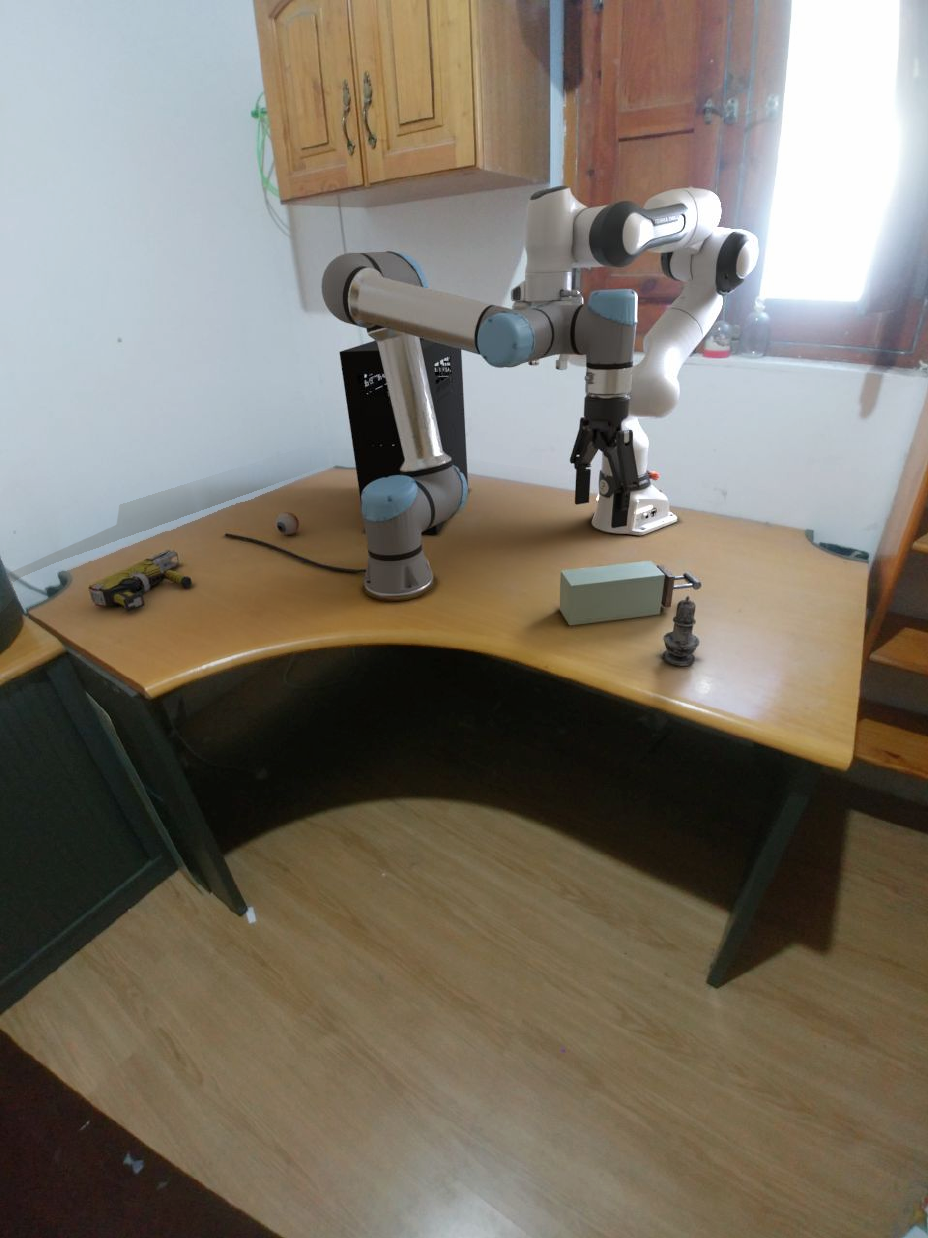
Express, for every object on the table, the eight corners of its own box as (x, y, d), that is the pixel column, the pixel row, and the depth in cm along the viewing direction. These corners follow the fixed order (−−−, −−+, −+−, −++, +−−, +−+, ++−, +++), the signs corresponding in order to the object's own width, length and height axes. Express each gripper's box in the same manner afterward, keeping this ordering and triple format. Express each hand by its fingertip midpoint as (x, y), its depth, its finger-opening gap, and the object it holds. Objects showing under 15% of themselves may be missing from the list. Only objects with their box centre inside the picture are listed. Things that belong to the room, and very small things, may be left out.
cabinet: (645, 598, 124) (650, 560, 119) (659, 614, 118) (665, 574, 114) (559, 609, 122) (560, 570, 117) (569, 625, 116) (571, 585, 112)
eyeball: (273, 537, 164) (268, 516, 161) (287, 528, 169) (282, 508, 166) (291, 539, 161) (286, 518, 158) (305, 530, 166) (301, 510, 163)
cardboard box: (436, 534, 159) (422, 349, 137) (364, 531, 164) (339, 351, 141) (468, 489, 191) (460, 332, 168) (407, 487, 195) (391, 335, 173)
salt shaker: (698, 668, 101) (709, 605, 95) (662, 665, 103) (670, 603, 97) (694, 649, 106) (704, 588, 100) (659, 647, 108) (667, 587, 102)
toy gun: (215, 558, 145) (165, 547, 149) (137, 600, 125) (81, 586, 129) (218, 575, 148) (168, 564, 152) (142, 619, 128) (87, 605, 131)
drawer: (686, 591, 124) (691, 561, 120) (699, 603, 119) (705, 572, 115) (577, 604, 121) (578, 574, 118) (586, 617, 116) (588, 586, 113)
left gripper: (554, 385, 111) (551, 497, 121) (628, 409, 90) (617, 541, 101) (590, 381, 112) (585, 491, 123) (671, 403, 92) (656, 533, 102)
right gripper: (596, 288, 109) (592, 370, 116) (531, 289, 125) (531, 361, 131) (568, 290, 106) (566, 374, 113) (505, 291, 122) (507, 364, 129)
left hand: (599, 514), depth 112 cm, fingers open, 13 cm apart
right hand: (547, 367), depth 122 cm, fingers open, 8 cm apart
